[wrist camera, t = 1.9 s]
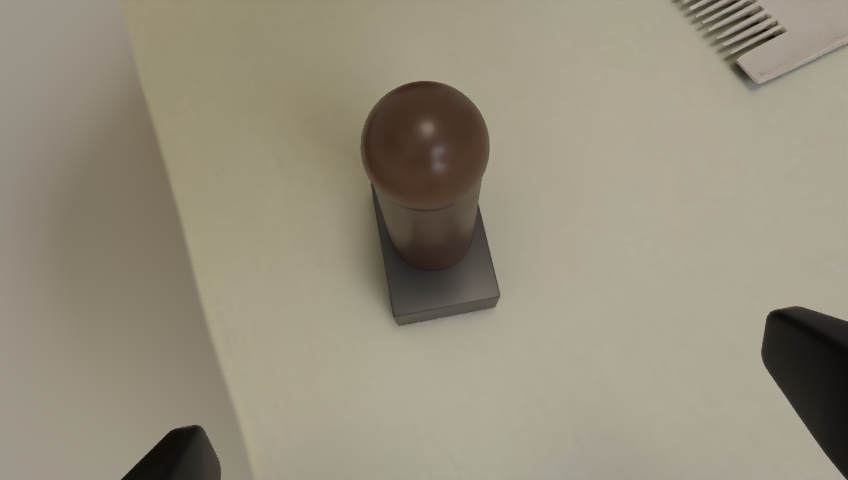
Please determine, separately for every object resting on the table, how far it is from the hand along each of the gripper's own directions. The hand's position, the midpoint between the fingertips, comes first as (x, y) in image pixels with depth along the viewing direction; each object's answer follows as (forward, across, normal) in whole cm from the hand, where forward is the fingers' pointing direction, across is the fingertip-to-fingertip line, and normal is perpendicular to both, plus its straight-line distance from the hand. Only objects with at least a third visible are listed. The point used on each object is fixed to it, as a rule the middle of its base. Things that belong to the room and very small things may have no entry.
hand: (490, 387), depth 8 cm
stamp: (+13, 0, +4) cm, 14 cm away
